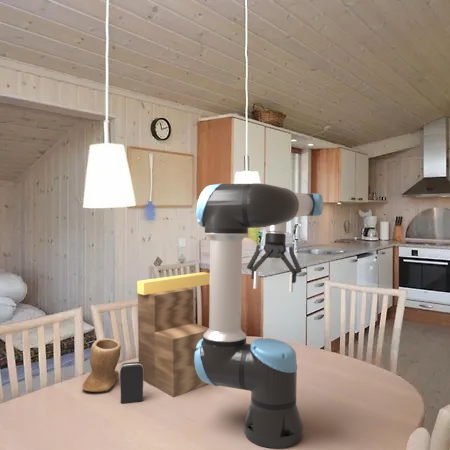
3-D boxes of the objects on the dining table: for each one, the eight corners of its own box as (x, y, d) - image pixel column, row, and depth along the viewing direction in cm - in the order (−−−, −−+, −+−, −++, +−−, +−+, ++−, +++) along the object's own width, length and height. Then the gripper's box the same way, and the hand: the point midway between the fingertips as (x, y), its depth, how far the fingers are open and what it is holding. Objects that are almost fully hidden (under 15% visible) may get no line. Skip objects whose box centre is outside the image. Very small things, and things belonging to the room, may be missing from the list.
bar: (202, 282, 163) (202, 272, 162) (209, 284, 160) (209, 273, 160) (137, 293, 144) (137, 281, 144) (143, 295, 141) (143, 282, 141)
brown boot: (116, 395, 136) (115, 347, 135) (77, 394, 136) (77, 347, 135) (127, 375, 151) (126, 333, 150) (93, 375, 151) (92, 333, 150)
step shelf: (176, 366, 160) (176, 285, 158) (212, 382, 145) (212, 293, 143) (138, 378, 149) (137, 291, 147) (173, 397, 134) (172, 300, 133)
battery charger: (143, 396, 135) (142, 359, 134) (143, 401, 131) (143, 364, 130) (120, 398, 133) (119, 361, 133) (120, 404, 129) (119, 366, 129)
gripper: (311, 234, 161) (308, 292, 161) (247, 231, 170) (244, 286, 170) (307, 234, 154) (304, 294, 154) (240, 231, 163) (237, 287, 163)
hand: (272, 290), depth 162 cm, fingers open, 13 cm apart
